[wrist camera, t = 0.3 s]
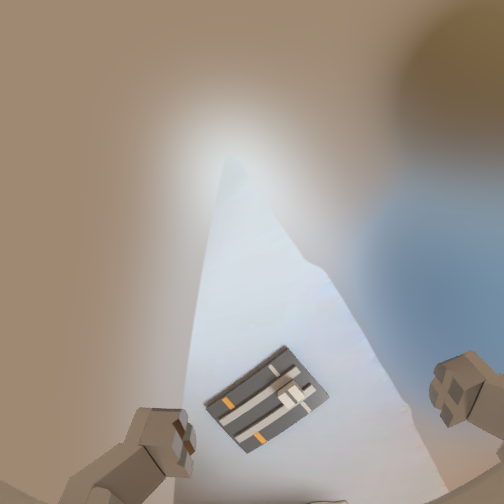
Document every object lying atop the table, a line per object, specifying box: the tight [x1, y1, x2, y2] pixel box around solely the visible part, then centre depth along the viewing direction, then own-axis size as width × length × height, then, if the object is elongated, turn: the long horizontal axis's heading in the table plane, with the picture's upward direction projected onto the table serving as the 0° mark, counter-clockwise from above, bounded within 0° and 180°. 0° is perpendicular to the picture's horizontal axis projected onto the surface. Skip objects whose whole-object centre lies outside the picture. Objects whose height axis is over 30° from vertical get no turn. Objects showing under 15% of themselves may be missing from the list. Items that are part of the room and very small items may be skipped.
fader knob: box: [278, 380, 305, 409], centre depth 52 cm, size 3×4×5 cm
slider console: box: [206, 348, 330, 453], centre depth 55 cm, size 14×22×3 cm, turn 129°
